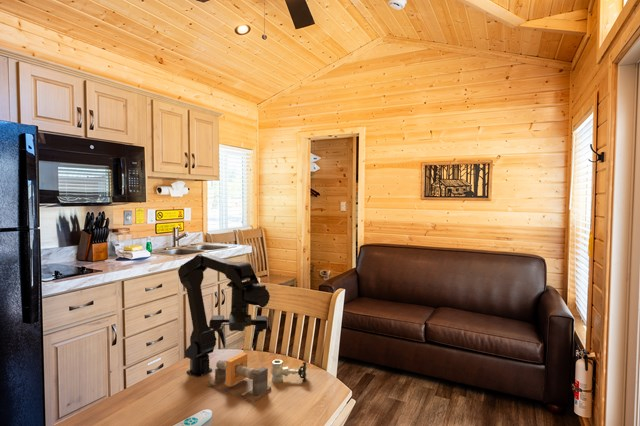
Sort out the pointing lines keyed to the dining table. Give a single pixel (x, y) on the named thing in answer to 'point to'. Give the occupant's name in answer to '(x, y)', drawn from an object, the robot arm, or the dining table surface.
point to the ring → (230, 369)
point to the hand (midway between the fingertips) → (238, 347)
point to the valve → (285, 371)
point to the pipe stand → (242, 381)
